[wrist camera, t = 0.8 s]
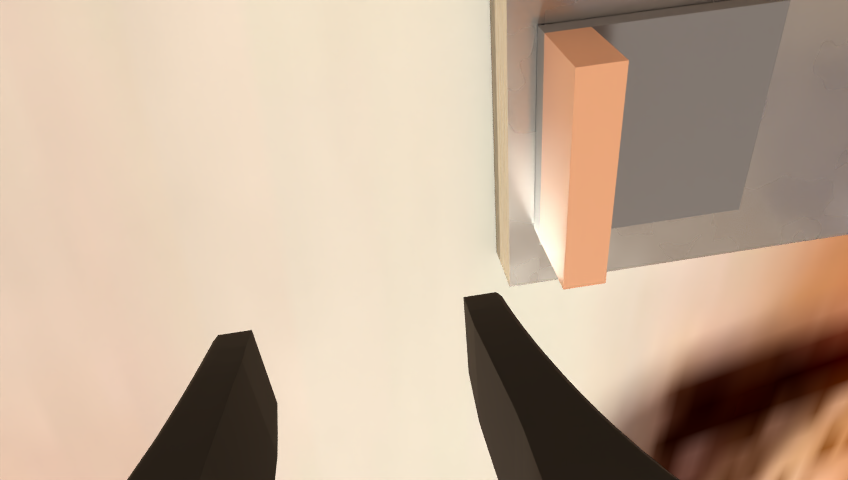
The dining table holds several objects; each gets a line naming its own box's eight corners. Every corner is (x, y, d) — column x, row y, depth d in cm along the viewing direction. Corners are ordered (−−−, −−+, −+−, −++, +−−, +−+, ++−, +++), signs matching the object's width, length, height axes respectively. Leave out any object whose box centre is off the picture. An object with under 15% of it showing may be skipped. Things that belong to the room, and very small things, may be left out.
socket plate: (941, -139, 17) (1005, -132, 15) (825, 201, 24) (861, 232, 22) (487, -83, 16) (505, -69, 15) (496, 251, 23) (509, 286, 21)
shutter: (777, -7, 17) (855, 29, 14) (728, 199, 20) (784, 255, 18) (537, 25, 16) (575, 67, 14) (534, 228, 20) (563, 289, 18)
